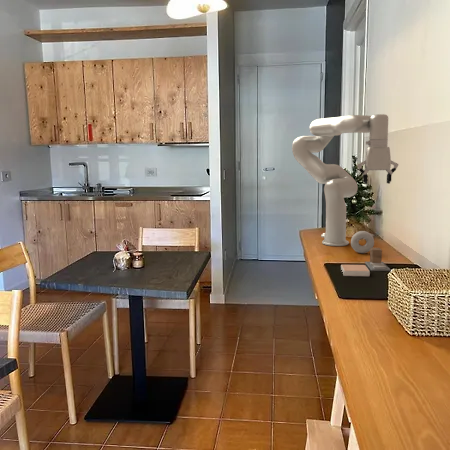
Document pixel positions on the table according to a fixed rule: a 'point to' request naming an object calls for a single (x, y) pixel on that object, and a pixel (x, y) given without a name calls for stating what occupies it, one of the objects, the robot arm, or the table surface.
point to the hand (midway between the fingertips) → (376, 183)
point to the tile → (355, 270)
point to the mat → (377, 269)
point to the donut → (362, 235)
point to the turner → (376, 258)
